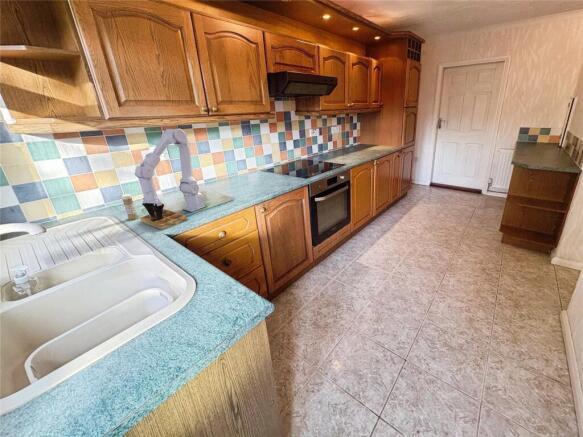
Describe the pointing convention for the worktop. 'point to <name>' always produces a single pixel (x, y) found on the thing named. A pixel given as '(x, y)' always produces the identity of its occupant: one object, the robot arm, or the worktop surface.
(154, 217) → the token
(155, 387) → the worktop surface
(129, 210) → the sprinkles bottle
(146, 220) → the grid
